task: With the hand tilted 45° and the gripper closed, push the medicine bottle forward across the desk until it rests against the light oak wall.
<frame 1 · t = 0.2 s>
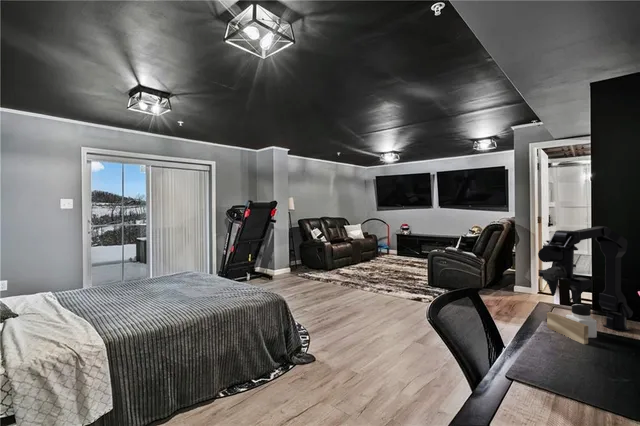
hand: (563, 298, 131), 15 cm above the table, tool pointing down, fingers open, 9 cm apart
oak wall: (566, 335, 129), on the table
medicine bottle: (580, 334, 131), on the table
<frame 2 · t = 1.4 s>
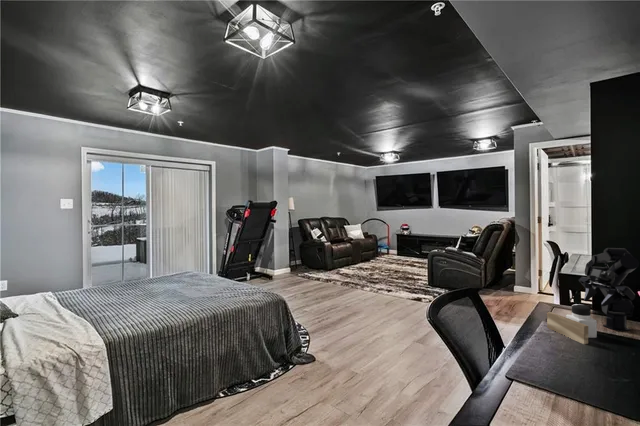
hand: (593, 303, 131), 13 cm above the table, tool tilted 45°, fingers open, 7 cm apart
nothing on the table moved.
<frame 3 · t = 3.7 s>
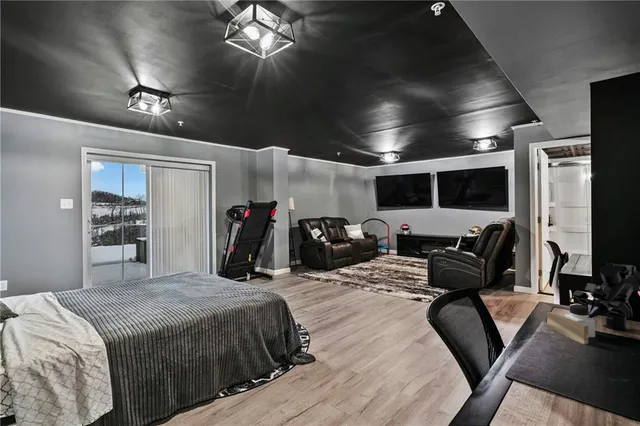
hand: (588, 317, 131), 7 cm above the table, tool tilted 45°, fingers closed
medicine bottle: (579, 334, 130), on the table, touching gripper
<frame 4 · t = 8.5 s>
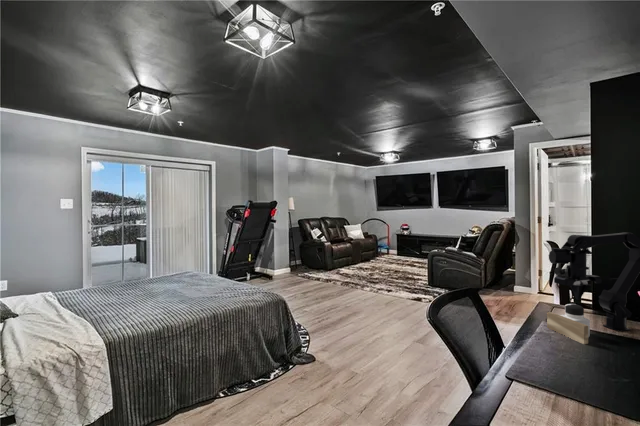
hand: (577, 299, 138), 12 cm above the table, tool pointing down, fingers closed
medicine bottle: (574, 334, 131), on the table
at the end: medicine bottle 0.8 cm from the target spot, on the table; medicine bottle tilted 0° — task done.
